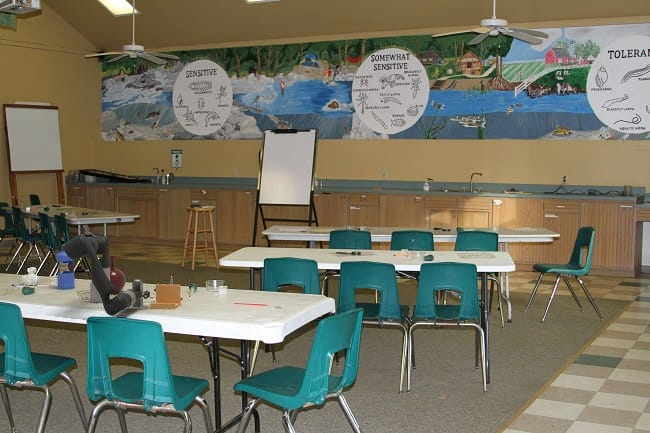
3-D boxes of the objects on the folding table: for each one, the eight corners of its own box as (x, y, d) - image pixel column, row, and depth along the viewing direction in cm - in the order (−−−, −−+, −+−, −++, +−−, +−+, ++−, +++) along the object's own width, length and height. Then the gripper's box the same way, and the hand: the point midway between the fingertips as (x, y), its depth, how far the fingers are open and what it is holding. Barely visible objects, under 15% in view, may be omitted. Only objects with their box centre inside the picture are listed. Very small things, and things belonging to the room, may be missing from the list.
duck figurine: (39, 289, 461) (47, 272, 467) (31, 283, 456) (39, 265, 461) (23, 288, 466) (31, 271, 472) (15, 281, 460) (23, 264, 466)
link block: (132, 307, 396) (132, 280, 395) (135, 305, 400) (134, 279, 399) (140, 307, 396) (140, 280, 394) (143, 305, 400) (142, 279, 398)
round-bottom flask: (129, 291, 440) (128, 254, 439) (120, 295, 427) (119, 258, 426) (106, 290, 442) (105, 254, 440) (96, 295, 429) (95, 257, 428)
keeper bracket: (150, 308, 391) (149, 288, 390) (157, 304, 402) (156, 284, 401) (174, 309, 390) (174, 288, 389) (180, 304, 401) (180, 284, 400)
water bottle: (60, 286, 456) (59, 242, 454) (77, 286, 456) (75, 242, 454) (55, 289, 447) (53, 244, 445) (72, 289, 447) (70, 244, 445)
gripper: (142, 290, 382) (152, 284, 398) (113, 290, 383) (124, 284, 399) (142, 306, 383) (153, 299, 399) (113, 306, 384) (125, 299, 400)
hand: (138, 292), depth 399 cm, fingers open, 8 cm apart
